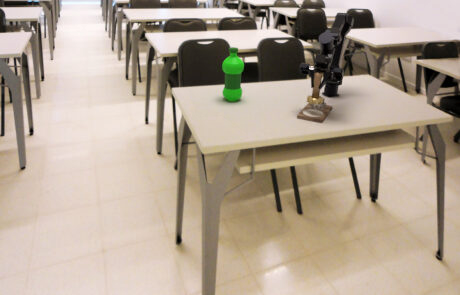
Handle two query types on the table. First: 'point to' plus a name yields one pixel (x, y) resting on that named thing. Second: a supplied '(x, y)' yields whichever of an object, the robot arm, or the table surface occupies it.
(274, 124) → the table surface
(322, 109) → the gear board
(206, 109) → the table surface
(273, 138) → the table surface
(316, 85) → the brass gear
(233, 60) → the plastic bottle
